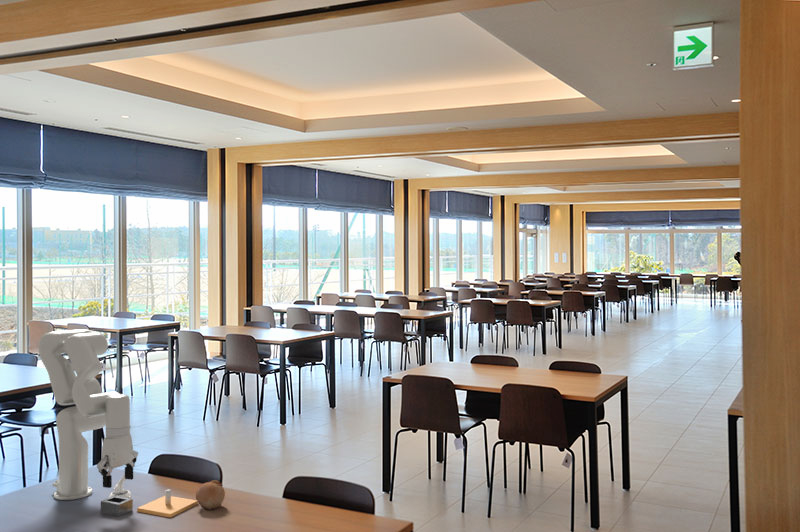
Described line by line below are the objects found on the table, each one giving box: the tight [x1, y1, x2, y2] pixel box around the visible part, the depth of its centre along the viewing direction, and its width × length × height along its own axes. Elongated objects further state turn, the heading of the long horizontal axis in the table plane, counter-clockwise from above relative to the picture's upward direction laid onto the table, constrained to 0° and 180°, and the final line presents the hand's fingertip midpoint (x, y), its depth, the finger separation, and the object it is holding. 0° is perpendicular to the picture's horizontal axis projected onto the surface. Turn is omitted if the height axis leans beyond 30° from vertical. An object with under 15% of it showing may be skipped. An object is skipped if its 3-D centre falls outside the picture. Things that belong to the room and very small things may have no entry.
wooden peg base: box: [136, 489, 199, 518], centre depth 236 cm, size 14×14×6 cm
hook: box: [108, 473, 133, 499], centre depth 246 cm, size 8×12×7 cm
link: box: [100, 496, 134, 517], centre depth 231 cm, size 8×6×4 cm
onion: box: [195, 479, 226, 510], centre depth 236 cm, size 10×9×10 cm
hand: (118, 483), depth 231 cm, fingers open, 9 cm apart
